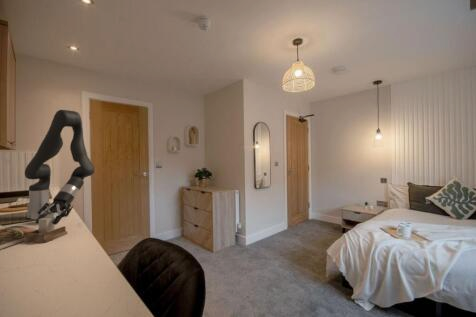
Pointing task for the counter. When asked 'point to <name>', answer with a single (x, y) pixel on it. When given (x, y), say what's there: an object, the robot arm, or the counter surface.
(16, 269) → the counter surface
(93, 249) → the counter surface
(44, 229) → the clay bar
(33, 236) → the slot stand
